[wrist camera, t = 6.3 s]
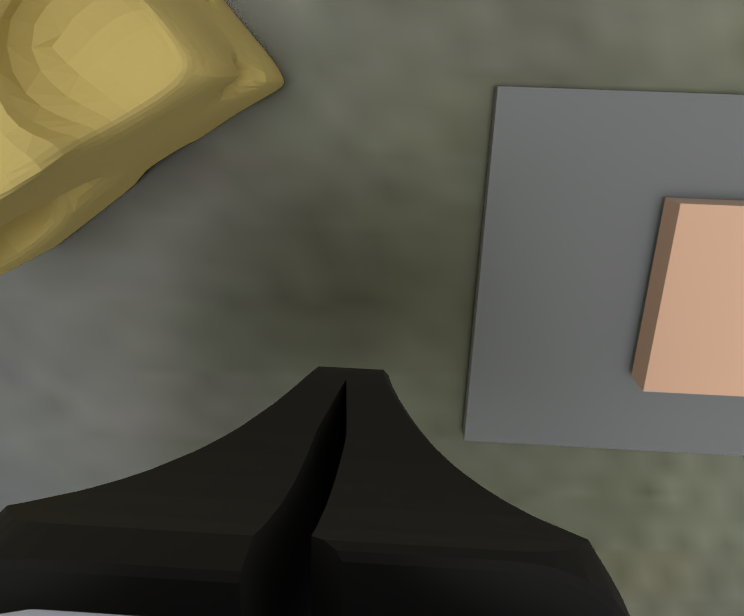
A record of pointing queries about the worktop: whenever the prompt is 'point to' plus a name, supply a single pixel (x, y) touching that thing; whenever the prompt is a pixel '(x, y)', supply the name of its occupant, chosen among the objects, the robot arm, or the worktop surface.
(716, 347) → the tile
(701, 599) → the worktop surface
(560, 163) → the mat
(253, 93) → the cheese
